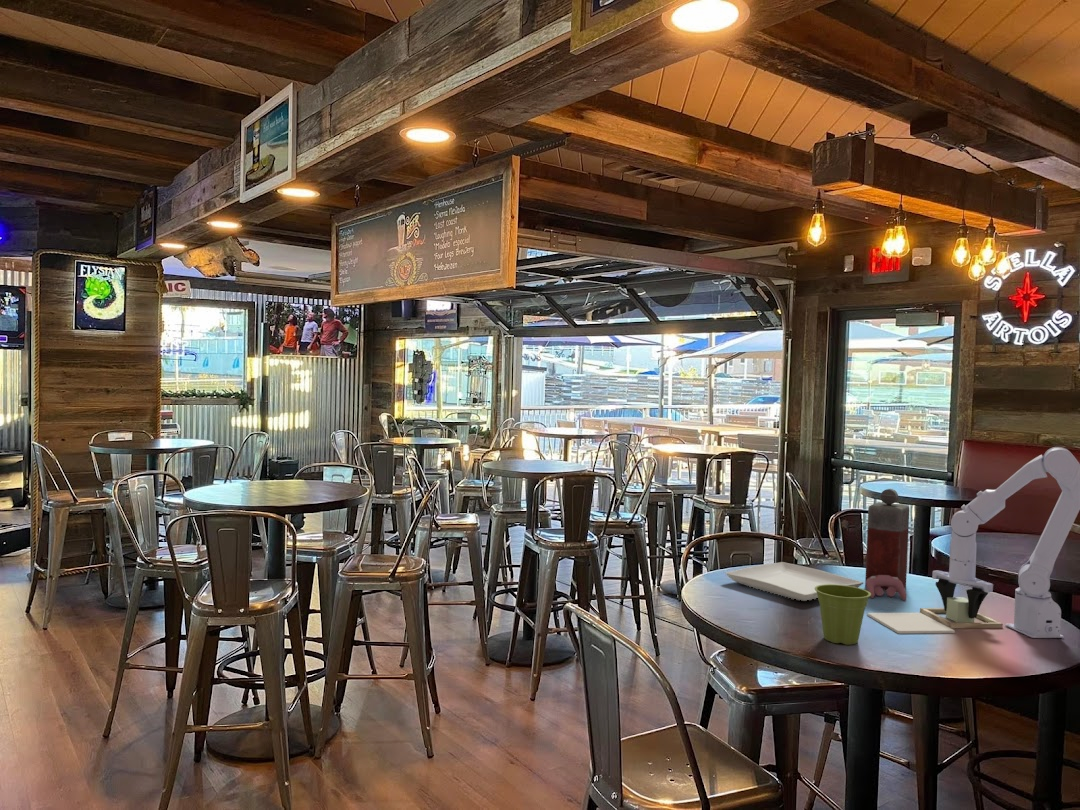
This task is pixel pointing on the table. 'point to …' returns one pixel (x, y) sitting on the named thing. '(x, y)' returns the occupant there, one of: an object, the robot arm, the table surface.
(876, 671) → the table surface
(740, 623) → the table surface
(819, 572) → the square plate
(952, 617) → the sage block
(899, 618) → the beige mat
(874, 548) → the brown canister
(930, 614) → the maple pocket frame
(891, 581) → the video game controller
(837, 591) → the plant pot
